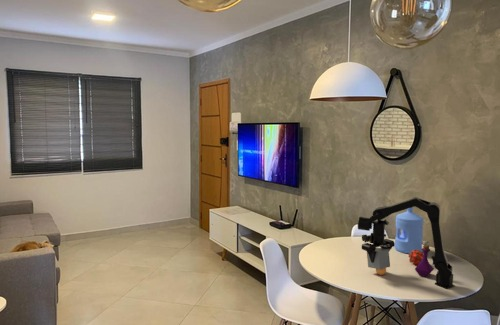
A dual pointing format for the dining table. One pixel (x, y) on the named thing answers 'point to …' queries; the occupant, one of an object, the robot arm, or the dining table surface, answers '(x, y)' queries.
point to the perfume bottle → (424, 262)
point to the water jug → (409, 232)
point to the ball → (381, 271)
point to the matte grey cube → (380, 259)
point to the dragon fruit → (415, 257)
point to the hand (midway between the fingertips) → (377, 261)
